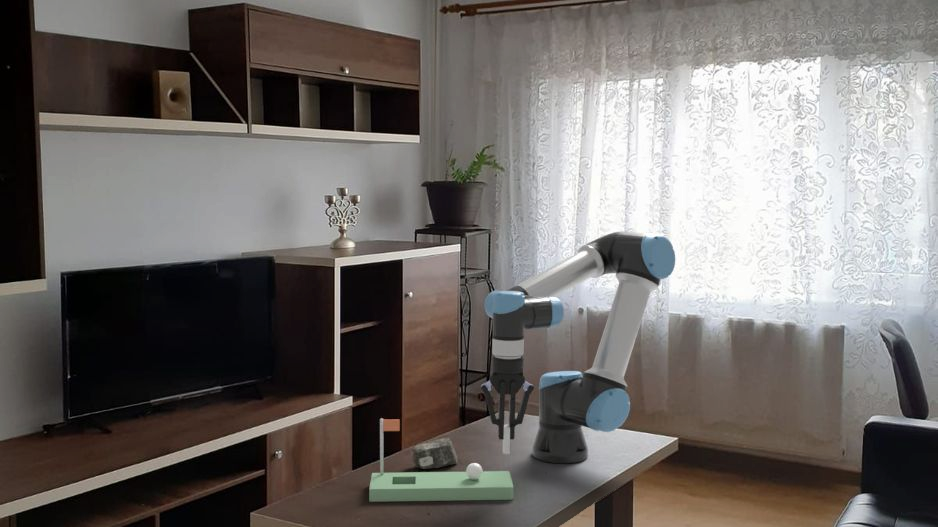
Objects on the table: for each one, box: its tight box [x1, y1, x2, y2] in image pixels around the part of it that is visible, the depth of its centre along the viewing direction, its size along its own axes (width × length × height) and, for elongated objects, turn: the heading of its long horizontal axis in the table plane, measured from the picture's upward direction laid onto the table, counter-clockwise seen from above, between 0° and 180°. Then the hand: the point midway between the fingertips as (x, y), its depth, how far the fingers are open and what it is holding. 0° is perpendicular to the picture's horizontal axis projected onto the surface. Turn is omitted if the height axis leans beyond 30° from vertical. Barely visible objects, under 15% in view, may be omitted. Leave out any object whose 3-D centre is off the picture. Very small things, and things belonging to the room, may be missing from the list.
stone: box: [410, 437, 458, 470], centre depth 245 cm, size 14×7×10 cm, turn 128°
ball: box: [465, 462, 484, 480], centre depth 225 cm, size 4×4×4 cm
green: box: [368, 418, 515, 503], centre depth 224 cm, size 34×12×17 cm, turn 93°
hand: (506, 452), depth 225 cm, fingers closed
